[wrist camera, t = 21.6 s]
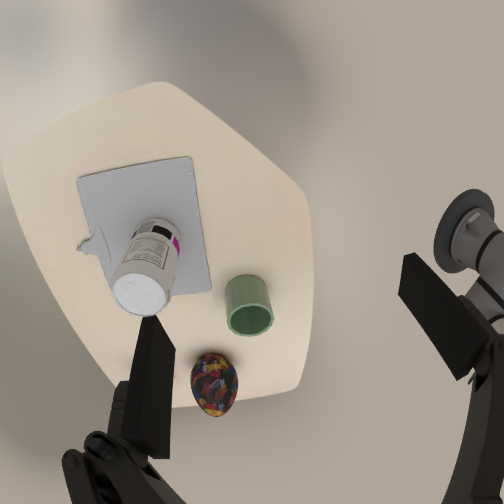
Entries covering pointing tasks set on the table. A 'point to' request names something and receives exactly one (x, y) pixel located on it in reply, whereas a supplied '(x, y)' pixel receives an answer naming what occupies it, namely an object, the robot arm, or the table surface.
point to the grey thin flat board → (145, 216)
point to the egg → (214, 384)
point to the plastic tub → (248, 306)
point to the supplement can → (147, 269)
